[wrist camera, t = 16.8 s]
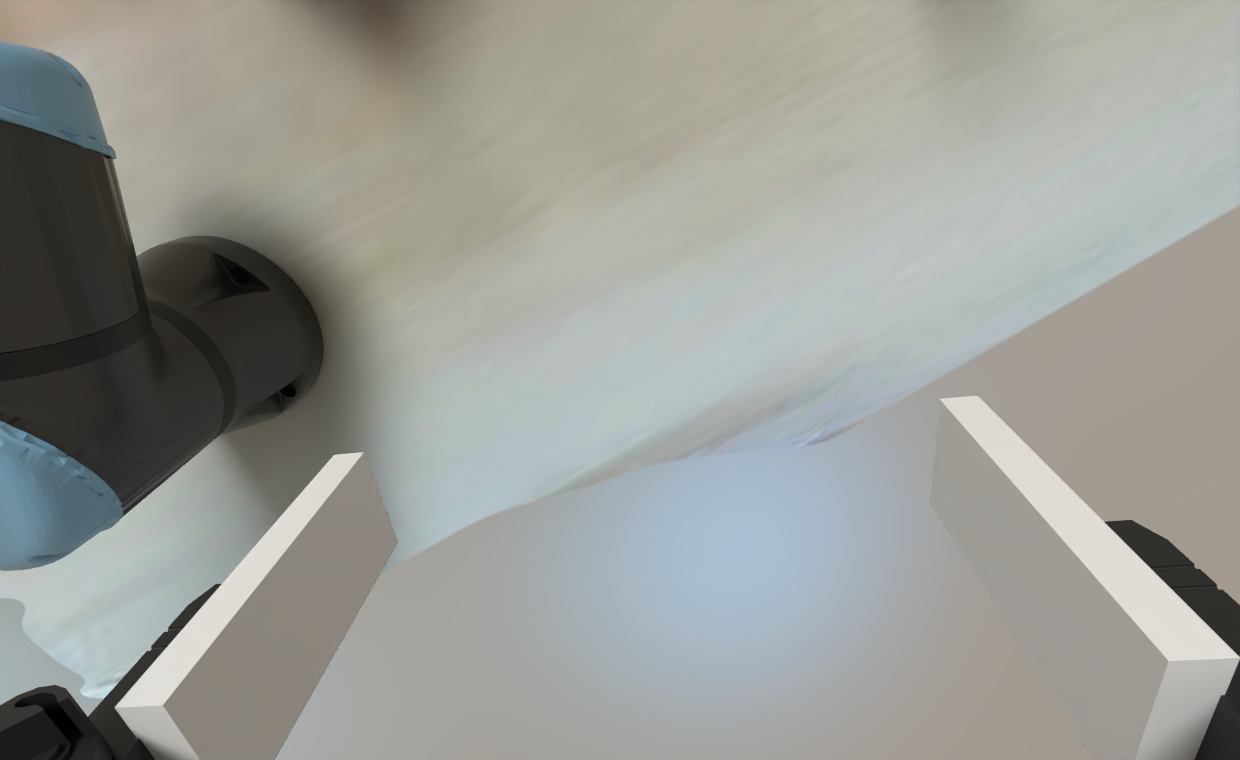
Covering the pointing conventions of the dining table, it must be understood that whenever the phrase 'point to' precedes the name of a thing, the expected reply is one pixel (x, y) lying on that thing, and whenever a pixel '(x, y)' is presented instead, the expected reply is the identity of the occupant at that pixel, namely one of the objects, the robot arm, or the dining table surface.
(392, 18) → the dining table surface
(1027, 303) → the dining table surface
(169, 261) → the robot arm
